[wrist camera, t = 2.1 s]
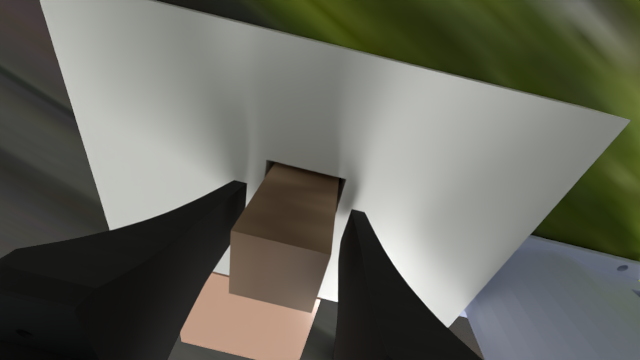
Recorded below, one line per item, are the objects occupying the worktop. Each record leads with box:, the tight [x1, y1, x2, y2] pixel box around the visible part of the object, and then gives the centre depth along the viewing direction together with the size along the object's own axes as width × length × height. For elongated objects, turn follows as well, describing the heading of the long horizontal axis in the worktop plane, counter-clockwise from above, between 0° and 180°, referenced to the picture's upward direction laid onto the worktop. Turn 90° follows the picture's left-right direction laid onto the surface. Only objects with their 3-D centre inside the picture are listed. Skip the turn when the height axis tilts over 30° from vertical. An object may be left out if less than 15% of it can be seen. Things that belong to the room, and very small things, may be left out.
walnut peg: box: [229, 162, 339, 313], centre depth 11 cm, size 3×3×7 cm
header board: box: [40, 0, 631, 328], centre depth 13 cm, size 22×14×2 cm, turn 78°
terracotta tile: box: [180, 272, 321, 360], centre depth 22 cm, size 12×12×1 cm
